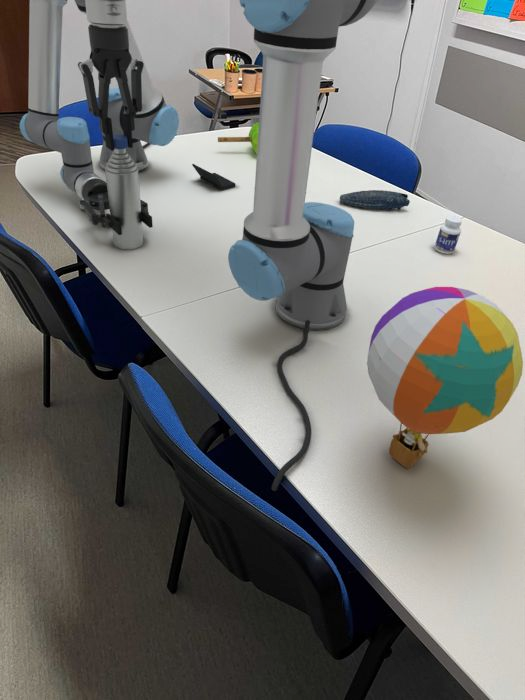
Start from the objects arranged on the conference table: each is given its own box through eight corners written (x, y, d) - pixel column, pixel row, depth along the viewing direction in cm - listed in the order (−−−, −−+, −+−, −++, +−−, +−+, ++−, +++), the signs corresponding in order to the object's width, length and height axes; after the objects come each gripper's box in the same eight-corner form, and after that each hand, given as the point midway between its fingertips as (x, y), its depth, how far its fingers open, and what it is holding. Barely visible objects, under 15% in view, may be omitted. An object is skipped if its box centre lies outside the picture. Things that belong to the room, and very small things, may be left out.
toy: (317, 448, 82) (351, 286, 63) (393, 397, 93) (442, 246, 74) (418, 536, 71) (496, 372, 52) (491, 467, 82) (578, 310, 63)
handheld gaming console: (239, 179, 164) (224, 157, 156) (229, 197, 163) (213, 176, 155) (213, 174, 171) (197, 153, 162) (202, 192, 169) (186, 171, 161)
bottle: (110, 238, 132) (98, 135, 116) (139, 234, 134) (131, 133, 119) (117, 251, 127) (105, 145, 111) (146, 247, 129) (139, 143, 114)
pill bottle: (433, 251, 139) (442, 220, 133) (435, 243, 143) (444, 213, 137) (453, 256, 138) (464, 225, 132) (454, 247, 142) (465, 217, 136)
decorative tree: (215, 117, 188) (295, 117, 193) (215, 147, 195) (292, 146, 200) (221, 131, 174) (307, 131, 180) (221, 163, 181) (304, 161, 186)
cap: (131, 146, 116) (131, 137, 115) (118, 150, 114) (117, 140, 112) (120, 142, 118) (119, 133, 117) (106, 146, 115) (105, 136, 114)
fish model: (408, 214, 157) (412, 198, 153) (339, 207, 158) (341, 191, 154) (406, 206, 162) (410, 190, 159) (339, 199, 163) (341, 183, 160)
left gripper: (131, 198, 145) (173, 231, 131) (59, 213, 134) (97, 250, 121) (129, 171, 140) (172, 202, 126) (54, 185, 129) (93, 220, 116)
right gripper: (73, 28, 95) (90, 157, 109) (155, 27, 103) (161, 147, 118) (58, 22, 99) (76, 147, 114) (138, 21, 108) (145, 137, 122)
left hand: (135, 225), depth 124 cm, fingers closed on bottle, 7 cm apart
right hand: (119, 146), depth 116 cm, fingers closed on cap, 4 cm apart
